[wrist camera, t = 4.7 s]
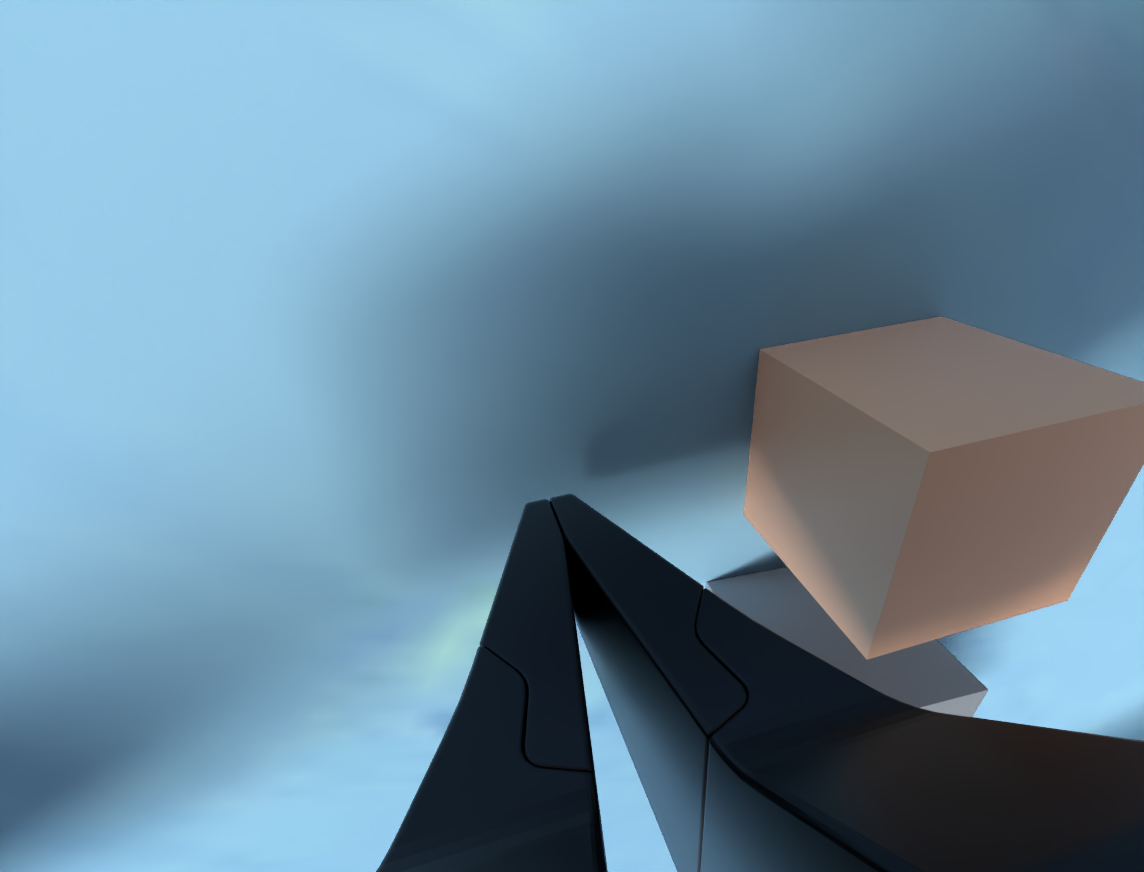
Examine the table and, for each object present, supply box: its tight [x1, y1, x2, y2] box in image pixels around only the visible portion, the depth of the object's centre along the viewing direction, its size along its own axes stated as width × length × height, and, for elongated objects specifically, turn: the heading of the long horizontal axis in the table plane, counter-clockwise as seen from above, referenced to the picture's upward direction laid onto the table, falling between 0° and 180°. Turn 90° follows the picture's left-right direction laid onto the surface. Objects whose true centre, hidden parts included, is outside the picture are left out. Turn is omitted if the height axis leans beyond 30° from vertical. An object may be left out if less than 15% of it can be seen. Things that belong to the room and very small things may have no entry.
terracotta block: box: [744, 316, 1144, 660], centre depth 9 cm, size 4×4×4 cm
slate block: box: [706, 567, 988, 717], centre depth 12 cm, size 4×4×4 cm
